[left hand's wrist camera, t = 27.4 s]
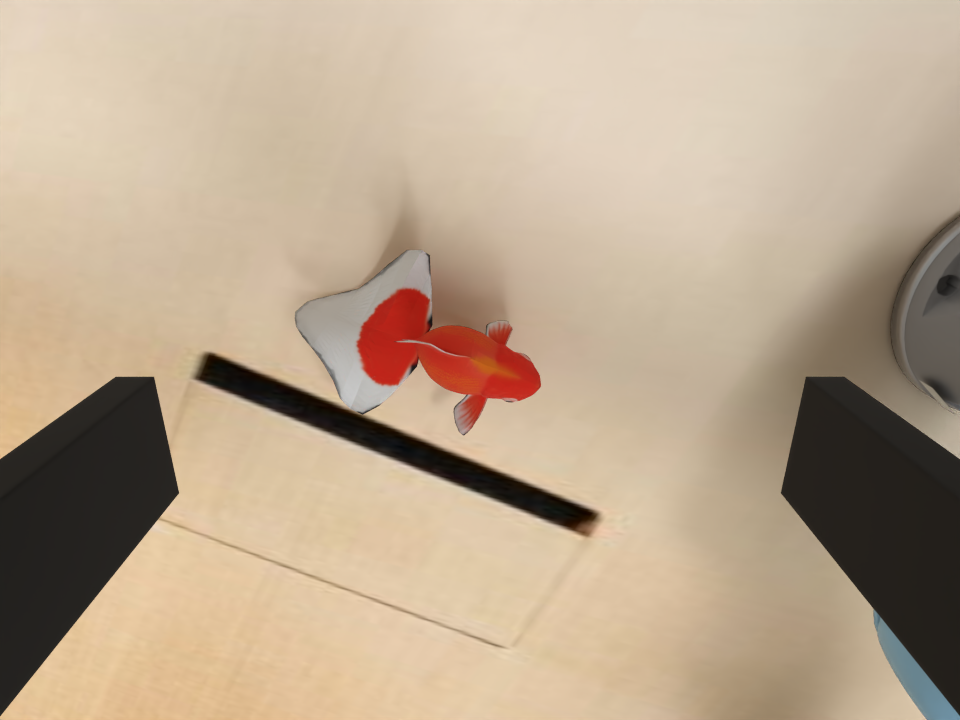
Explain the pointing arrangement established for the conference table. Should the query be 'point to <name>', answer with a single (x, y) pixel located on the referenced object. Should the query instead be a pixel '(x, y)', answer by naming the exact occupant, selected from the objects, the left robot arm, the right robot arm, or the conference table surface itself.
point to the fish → (410, 344)
